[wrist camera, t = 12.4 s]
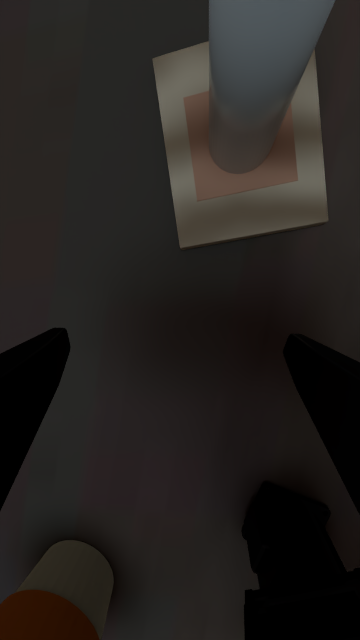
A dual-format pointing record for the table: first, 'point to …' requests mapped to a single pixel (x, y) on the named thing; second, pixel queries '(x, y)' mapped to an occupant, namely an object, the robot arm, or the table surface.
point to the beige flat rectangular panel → (238, 189)
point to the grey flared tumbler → (256, 72)
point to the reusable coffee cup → (60, 596)
